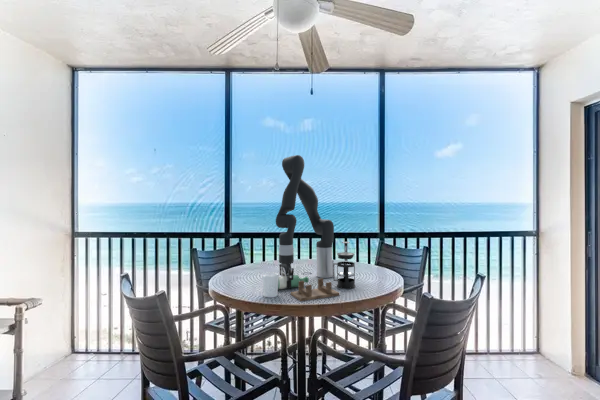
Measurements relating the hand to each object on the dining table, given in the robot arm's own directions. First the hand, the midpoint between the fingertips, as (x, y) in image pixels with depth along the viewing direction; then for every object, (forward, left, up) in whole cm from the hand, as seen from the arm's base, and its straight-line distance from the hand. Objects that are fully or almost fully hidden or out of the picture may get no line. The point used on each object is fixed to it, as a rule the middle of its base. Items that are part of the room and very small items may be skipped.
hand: (286, 286), depth 168 cm
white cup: (+12, +9, -1) cm, 15 cm away
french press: (-28, +10, -1) cm, 30 cm away
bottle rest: (-7, +17, -1) cm, 19 cm away
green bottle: (-2, -1, -1) cm, 2 cm away
